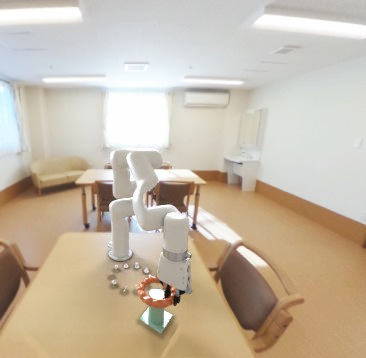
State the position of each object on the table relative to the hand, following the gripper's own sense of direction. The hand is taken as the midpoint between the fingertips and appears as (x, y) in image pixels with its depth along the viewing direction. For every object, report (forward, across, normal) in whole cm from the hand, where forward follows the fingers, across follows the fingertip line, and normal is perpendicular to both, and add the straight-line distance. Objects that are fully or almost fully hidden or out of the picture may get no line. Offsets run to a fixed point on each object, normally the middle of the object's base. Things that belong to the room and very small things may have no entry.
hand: (171, 300), depth 70 cm
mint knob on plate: (+12, +6, 0) cm, 13 cm away
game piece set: (+12, +26, -12) cm, 31 cm away
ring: (-1, +6, 0) cm, 6 cm away
